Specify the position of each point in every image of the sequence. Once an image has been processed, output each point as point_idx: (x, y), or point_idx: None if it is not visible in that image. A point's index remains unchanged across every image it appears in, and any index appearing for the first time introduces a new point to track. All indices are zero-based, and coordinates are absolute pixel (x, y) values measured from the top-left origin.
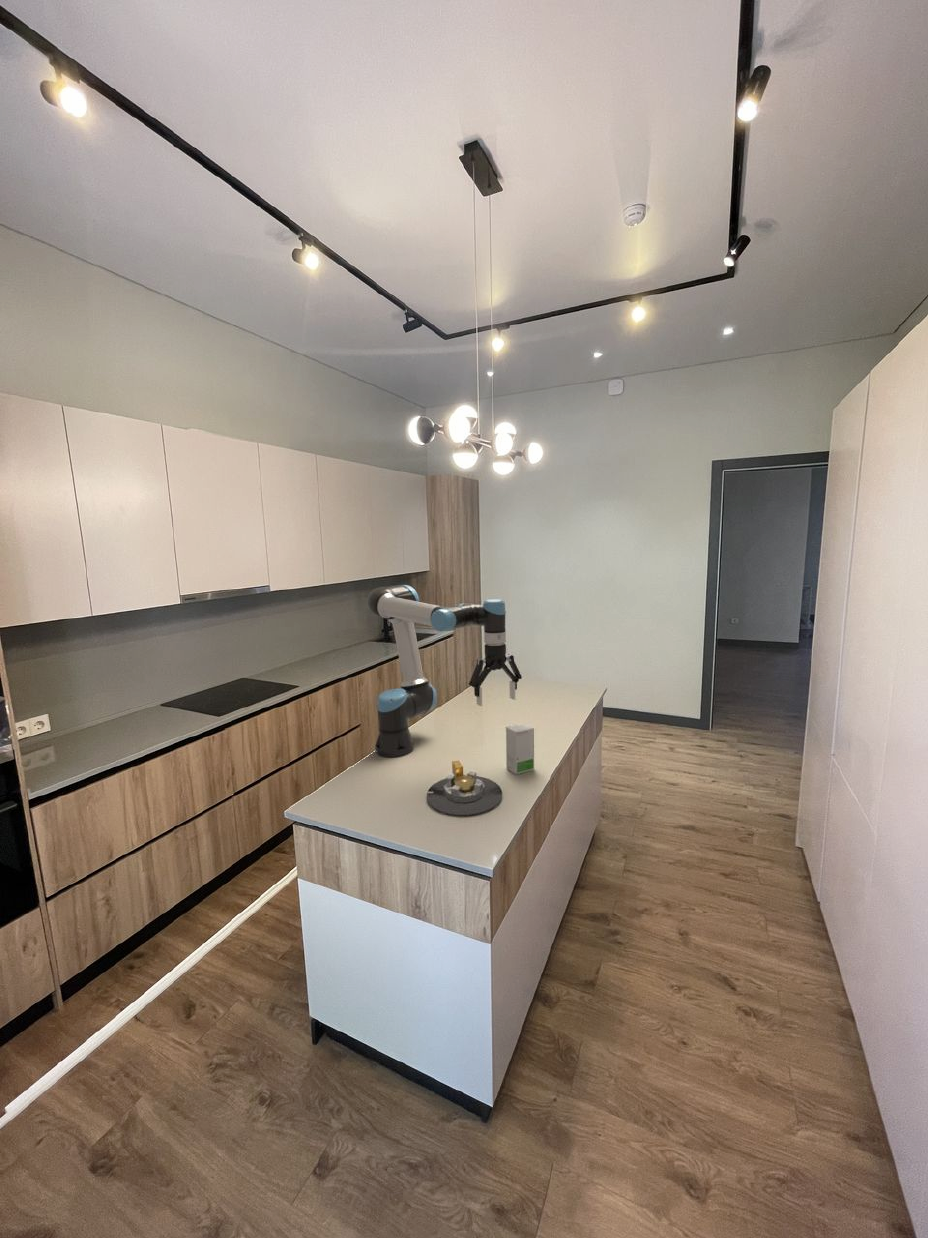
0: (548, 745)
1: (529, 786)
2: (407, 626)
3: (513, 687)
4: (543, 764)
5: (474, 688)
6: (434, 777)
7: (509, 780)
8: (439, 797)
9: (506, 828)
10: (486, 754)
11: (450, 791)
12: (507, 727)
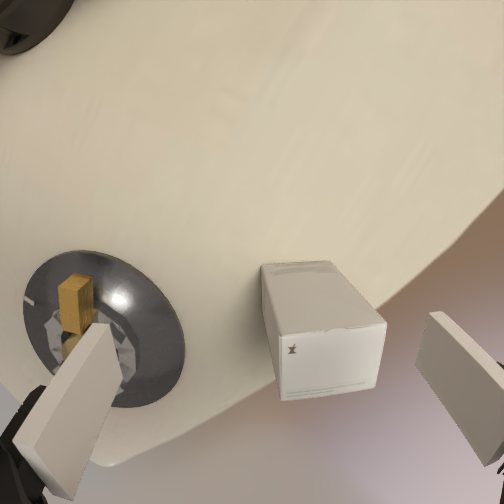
0: (456, 191)
1: (260, 371)
2: None
3: (463, 432)
4: (369, 291)
5: (2, 439)
6: (52, 215)
7: (230, 328)
8: (44, 328)
9: (145, 443)
10: (256, 135)
11: (57, 352)
12: (281, 347)
